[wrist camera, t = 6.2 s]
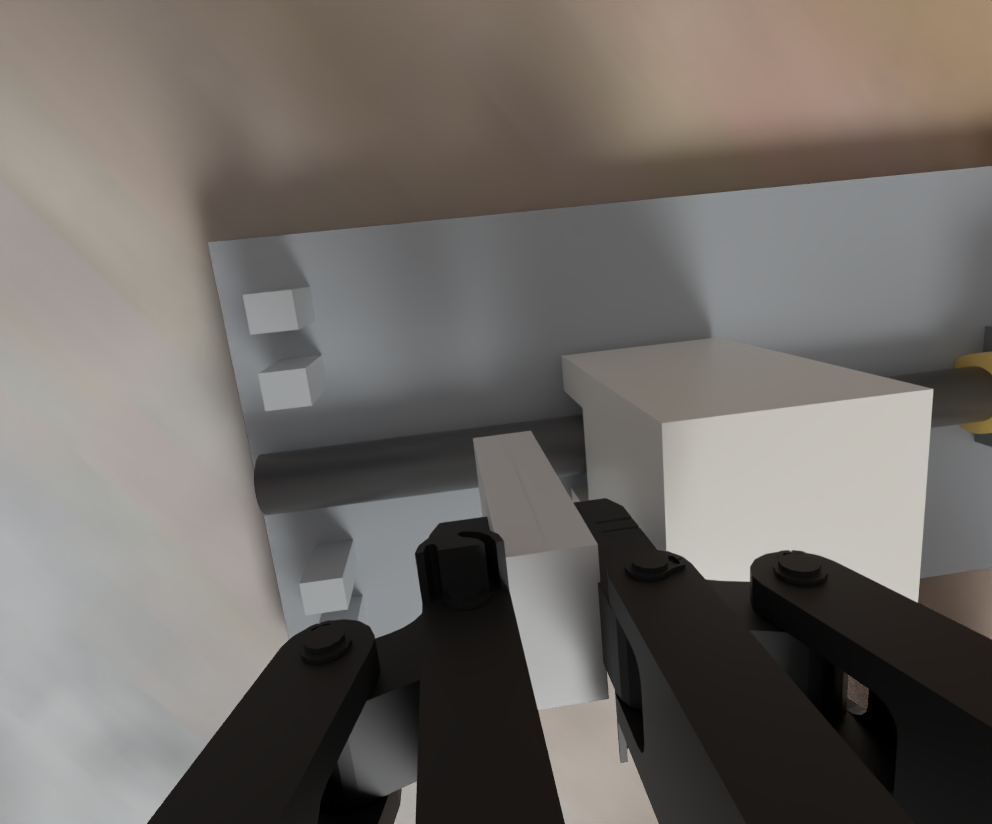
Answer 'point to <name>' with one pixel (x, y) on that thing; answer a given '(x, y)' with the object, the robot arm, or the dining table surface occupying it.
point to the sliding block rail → (580, 329)
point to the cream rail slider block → (757, 456)
